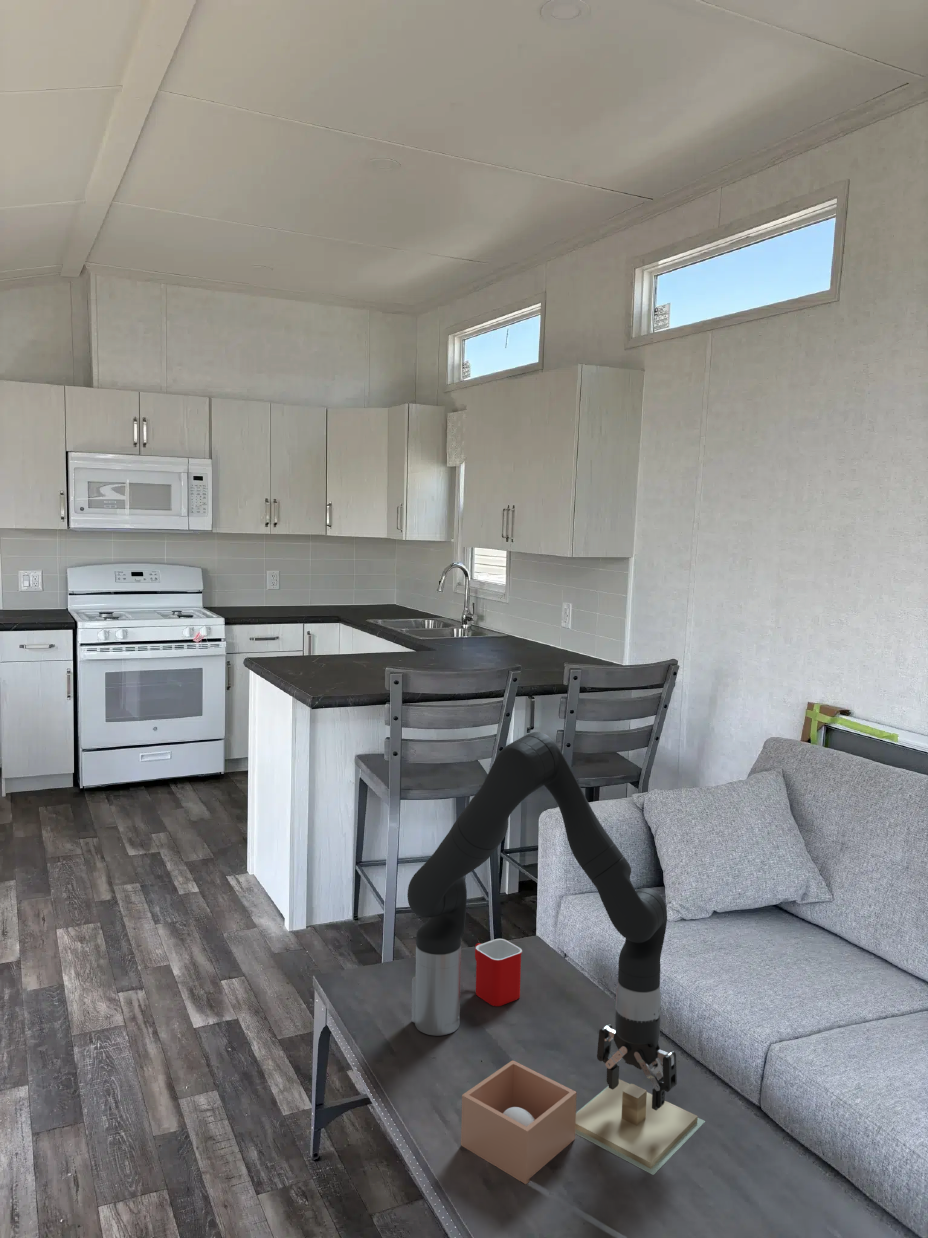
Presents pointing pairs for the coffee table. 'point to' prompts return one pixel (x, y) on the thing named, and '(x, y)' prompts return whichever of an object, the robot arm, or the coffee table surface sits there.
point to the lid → (634, 1123)
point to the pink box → (508, 1138)
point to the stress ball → (519, 1115)
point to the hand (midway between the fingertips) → (635, 1097)
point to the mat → (630, 1160)
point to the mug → (498, 971)
